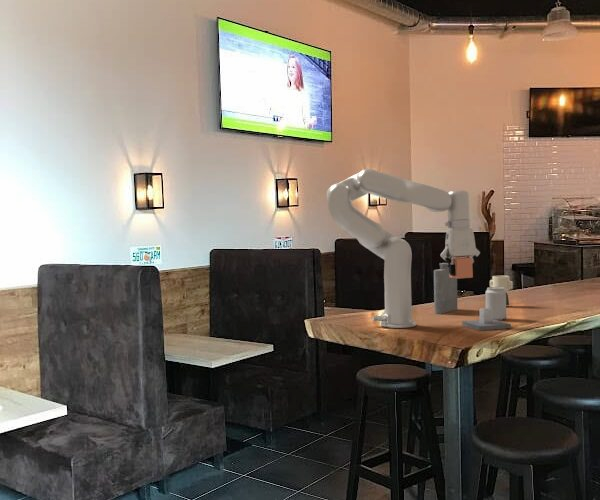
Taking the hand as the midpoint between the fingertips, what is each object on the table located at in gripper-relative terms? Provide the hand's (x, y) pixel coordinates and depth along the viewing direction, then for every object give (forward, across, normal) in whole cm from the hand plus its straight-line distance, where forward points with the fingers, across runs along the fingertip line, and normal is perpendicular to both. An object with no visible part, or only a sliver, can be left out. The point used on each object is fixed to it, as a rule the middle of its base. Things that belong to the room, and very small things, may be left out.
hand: (461, 274), depth 233 cm
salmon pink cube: (+1, 0, 0) cm, 1 cm away
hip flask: (+18, +9, +30) cm, 37 cm away
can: (+19, +16, +4) cm, 25 cm away
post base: (+18, +4, -9) cm, 21 cm away
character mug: (+19, +37, +33) cm, 54 cm away
